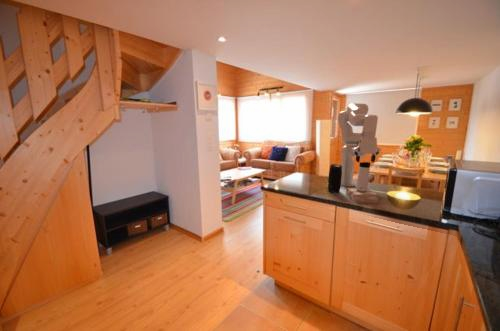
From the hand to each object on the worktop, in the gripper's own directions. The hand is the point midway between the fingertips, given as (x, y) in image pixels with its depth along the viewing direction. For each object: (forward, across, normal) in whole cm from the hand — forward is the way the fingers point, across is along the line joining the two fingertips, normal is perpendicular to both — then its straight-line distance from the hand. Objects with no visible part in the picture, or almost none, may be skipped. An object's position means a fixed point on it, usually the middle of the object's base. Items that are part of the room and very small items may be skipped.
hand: (365, 161), depth 145 cm
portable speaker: (+25, -13, +13) cm, 31 cm away
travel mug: (+20, 0, -1) cm, 20 cm away
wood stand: (+25, 0, -1) cm, 25 cm away
